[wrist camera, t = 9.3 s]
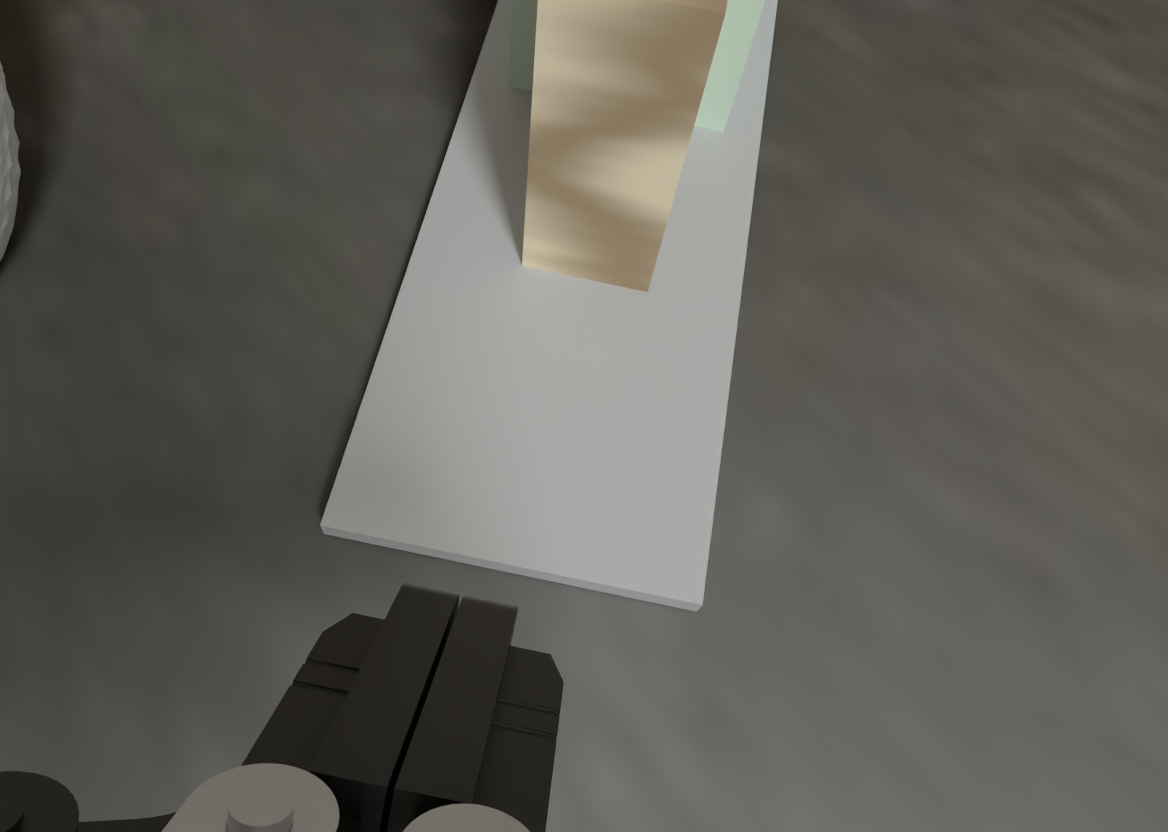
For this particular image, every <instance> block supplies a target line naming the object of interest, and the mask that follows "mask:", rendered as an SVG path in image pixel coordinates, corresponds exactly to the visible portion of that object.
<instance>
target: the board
mask: <svg viewBox="0 0 1168 832" xmlns="http://www.w3.org/2000/svg"><path fill="white" fill-rule="evenodd" d="M777 1H778V0H766V1H765V4H764V7H763V10H762V13H761V16H760V20H759V23H758V26H757V29H756V32H755V35H754V38H753V41H752V45H751V48H750V51H749V54H748V57H747V60H746V63H745V66H744V69H743V73H742V76H741V79H740V82H739V85H738V88H737V91H736V94H735V97H734V101H733V104H732V107H731V110H730V113H729V116H728V119H727V122H726V125H725V129H724V132H722V131H717V130H712V129H707V128H703V127H698V126H694V128H693V132H692V135H691V139H690V142H689V146H688V150H687V153H686V157H685V160H684V164H683V167H682V171H681V175H680V178H679V182H678V185H677V189H676V193H675V196H674V200H673V203H672V207H671V210H670V214H669V218H668V221H667V225H666V228H665V232H664V235H663V239H662V243H661V246H660V250H659V253H658V257H657V261H656V264H655V268H654V271H653V275H652V278H651V282H650V286H649V289H648V292H644V291H639V290H635V289H630V288H625V287H621V286H616V285H611V284H607V283H602V282H597V281H592V280H588V279H583V278H578V277H574V276H569V275H564V274H560V273H555V272H550V271H545V270H541V269H536V268H531V267H527V266H522V258H523V241H524V224H525V207H526V191H527V174H528V157H529V140H530V123H531V106H532V92H531V91H526V90H522V89H517V88H512V87H508V86H509V51H510V16H511V0H498V3H497V5H496V8H495V11H494V14H493V17H492V20H491V23H490V26H489V29H488V32H487V35H486V38H485V41H484V44H483V47H482V50H481V53H480V56H479V58H478V61H477V64H476V67H475V70H474V73H473V76H472V79H471V82H470V85H469V88H468V91H467V94H466V97H465V100H464V103H463V106H462V109H461V112H460V114H459V117H458V120H457V123H456V126H455V129H454V132H453V135H452V138H451V141H450V144H449V147H448V150H447V153H446V156H445V159H444V162H443V165H442V167H441V170H440V173H439V176H438V179H437V182H436V185H435V188H434V191H433V194H432V197H431V200H430V203H429V206H428V209H427V212H426V215H425V218H424V220H423V223H422V226H421V229H420V232H419V235H418V238H417V241H416V244H415V247H414V250H413V253H412V256H411V259H410V262H409V265H408V268H407V271H406V273H405V276H404V279H403V282H402V285H401V288H400V291H399V294H398V297H397V300H396V303H395V306H394V309H393V312H392V315H391V318H390V321H389V324H388V327H387V329H386V332H385V335H384V338H383V341H382V344H381V347H380V350H379V353H378V356H377V359H376V362H375V365H374V368H373V371H372V374H371V377H370V380H369V382H368V385H367V388H366V391H365V394H364V397H363V400H362V403H361V406H360V409H359V412H358V415H357V418H356V421H355V424H354V427H353V430H352V433H351V435H350V438H349V441H348V444H347V447H346V450H345V453H344V456H343V459H342V462H341V465H340V468H339V471H338V474H337V477H336V480H335V483H334V486H333V488H332V491H331V494H330V497H329V500H328V503H327V506H326V509H325V512H324V515H323V518H322V521H321V524H320V526H321V529H322V531H323V533H324V534H327V535H331V536H336V537H341V538H346V539H351V540H355V541H360V542H365V543H370V544H375V545H379V546H384V547H389V548H394V549H399V550H403V551H408V552H413V553H418V554H423V555H427V556H432V557H437V558H442V559H447V560H451V561H456V562H461V563H466V564H471V565H475V566H480V567H485V568H490V569H495V570H499V571H504V572H509V573H514V574H519V575H523V576H528V577H533V578H538V579H543V580H547V581H552V582H557V583H562V584H567V585H571V586H576V587H581V588H586V589H591V590H595V591H600V592H605V593H610V594H615V595H619V596H624V597H629V598H634V599H639V600H643V601H648V602H653V603H658V604H663V605H667V606H672V607H677V608H682V609H687V610H691V611H696V612H697V611H698V610H699V608H700V607H701V606H702V604H703V596H704V588H705V580H706V571H707V563H708V555H709V547H710V539H711V531H712V523H713V515H714V507H715V499H716V491H717V483H718V475H719V467H720V459H721V451H722V443H723V435H724V427H725V419H726V411H727V403H728V395H729V387H730V379H731V371H732V363H733V355H734V347H735V339H736V331H737V323H738V315H739V307H740V299H741V290H742V282H743V274H744V266H745V258H746V250H747V242H748V234H749V226H750V218H751V210H752V202H753V194H754V186H755V178H756V170H757V162H758V154H759V146H760V138H761V130H762V122H763V114H764V106H765V98H766V90H767V82H768V74H769V66H770V58H771V50H772V42H773V34H774V26H775V18H776V9H777Z"/></svg>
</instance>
